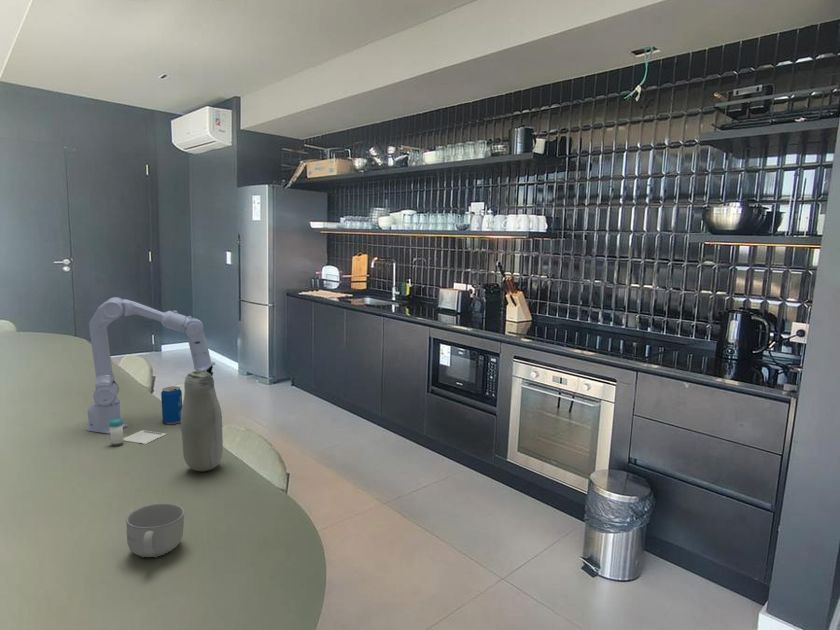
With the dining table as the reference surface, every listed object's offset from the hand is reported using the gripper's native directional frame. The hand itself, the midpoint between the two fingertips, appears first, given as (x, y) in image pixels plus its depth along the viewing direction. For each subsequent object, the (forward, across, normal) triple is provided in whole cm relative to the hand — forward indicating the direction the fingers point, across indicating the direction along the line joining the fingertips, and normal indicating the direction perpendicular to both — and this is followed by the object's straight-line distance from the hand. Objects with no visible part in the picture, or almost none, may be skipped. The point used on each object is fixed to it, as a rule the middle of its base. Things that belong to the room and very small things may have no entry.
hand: (208, 389), depth 191 cm
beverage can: (+9, 0, +14) cm, 16 cm away
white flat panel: (+7, -13, +21) cm, 26 cm away
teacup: (+9, -85, +13) cm, 86 cm away
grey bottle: (+10, -45, +4) cm, 46 cm away
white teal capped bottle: (+6, -17, +28) cm, 33 cm away
